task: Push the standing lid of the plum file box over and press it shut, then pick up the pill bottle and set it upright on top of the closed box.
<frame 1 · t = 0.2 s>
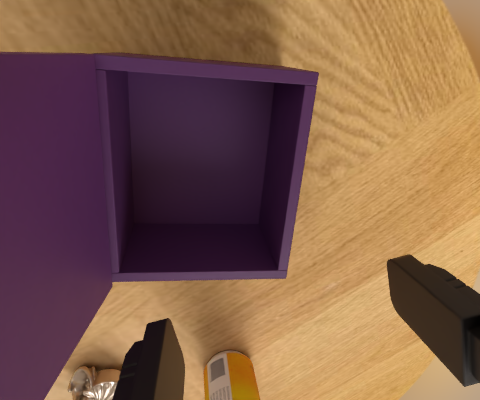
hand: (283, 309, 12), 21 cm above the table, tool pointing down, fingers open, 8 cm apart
beer can: (227, 364, 43), on the table
ornament: (106, 380, 41), on the table
lid: (32, 242, 15), point 16 cm above the table, hinge at 100.0°
file box: (200, 151, 31), on the table
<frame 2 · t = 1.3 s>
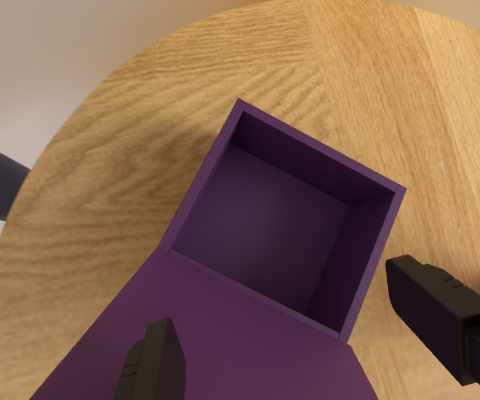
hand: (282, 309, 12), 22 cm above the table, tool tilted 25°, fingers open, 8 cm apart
lid: (256, 368, 17), point 16 cm above the table, hinge at 111.0°, touching gripper
file box: (264, 227, 35), on the table
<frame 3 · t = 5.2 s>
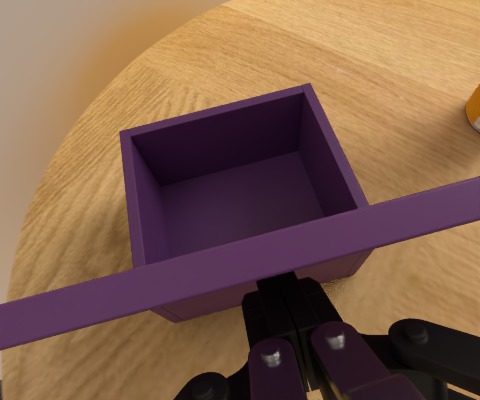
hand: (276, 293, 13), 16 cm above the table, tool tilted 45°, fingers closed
lid: (269, 262, 13), point 16 cm above the table, hinge at 105.1°
file box: (245, 226, 32), on the table
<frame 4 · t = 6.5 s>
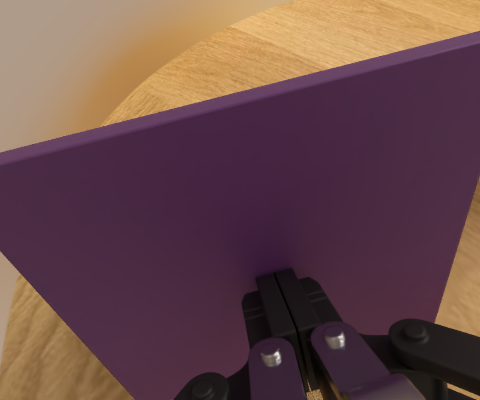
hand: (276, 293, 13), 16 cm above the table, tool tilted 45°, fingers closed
lid: (270, 271, 14), point 16 cm above the table, hinge at 65.5°, touching gripper
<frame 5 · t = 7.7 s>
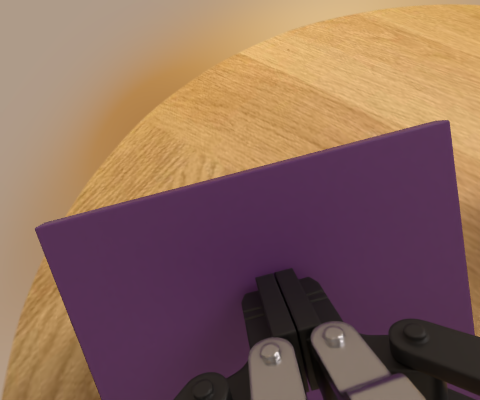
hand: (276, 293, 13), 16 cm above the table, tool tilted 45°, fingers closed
lid: (286, 338, 14), point 14 cm above the table, hinge at 39.4°, touching gripper
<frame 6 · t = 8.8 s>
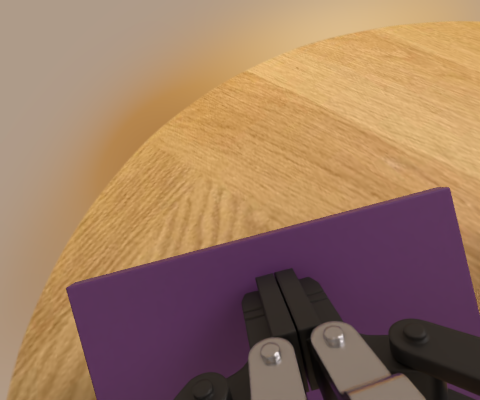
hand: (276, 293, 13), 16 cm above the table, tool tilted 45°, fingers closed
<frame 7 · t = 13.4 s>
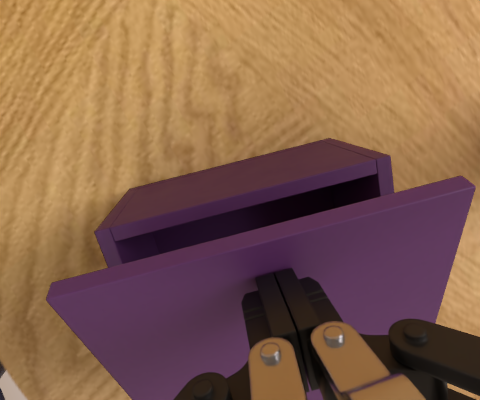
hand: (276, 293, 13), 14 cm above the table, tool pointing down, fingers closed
lid: (283, 340, 17), point 12 cm above the table, hinge at 20.2°, touching gripper
file box: (250, 243, 28), on the table
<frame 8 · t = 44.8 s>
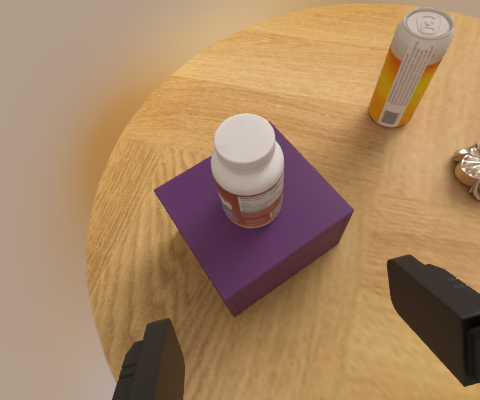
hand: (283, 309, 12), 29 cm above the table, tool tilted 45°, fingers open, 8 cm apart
pill bottle: (252, 203, 36), point 9 cm above the table, touching lid
beer can: (388, 115, 51), on the table
ornament: (477, 176, 45), on the table
lid: (249, 201, 36), point 9 cm above the table, hinge at 0.0°, touching pill bottle
file box: (256, 236, 44), on the table
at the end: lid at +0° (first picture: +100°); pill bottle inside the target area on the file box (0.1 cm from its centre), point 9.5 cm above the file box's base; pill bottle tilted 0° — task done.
